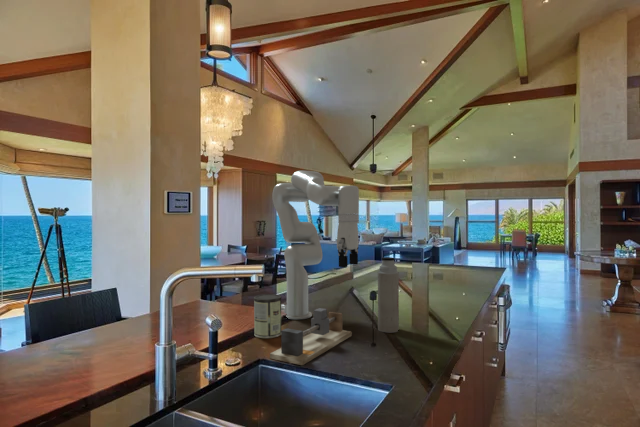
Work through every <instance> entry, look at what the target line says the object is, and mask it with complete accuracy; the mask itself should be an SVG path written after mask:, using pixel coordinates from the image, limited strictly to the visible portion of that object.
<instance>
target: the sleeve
mask: <svg viewBox="0 0 640 427" xmlns="http://www.w3.org/2000/svg"><path fill="white" fill-rule="evenodd" d="M327 314H328V313H327V308H321V307H319V308H315V309H314V310H313V317H312V318H310V328H312V327H314V326H316V325H318V324H320V328H318V329H316V330H314V331H312V332H310V333H313V334H319V335H325V334H327V333H329V317H328V315H327Z"/></svg>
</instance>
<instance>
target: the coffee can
mask: <svg viewBox="0 0 640 427" xmlns="http://www.w3.org/2000/svg"><path fill="white" fill-rule="evenodd" d="M282 298H283V297H282V295H280V294H275V293H269V294H268V293H267V294H264V293H263V294H258V295H255V296H254V297H253V301H254V302H253V303H254V304H253V308H254V309H253V313H254V314H253V317H254V318H253V319H254V328H253V330H254V336H255V337H256V338H260V339H274V338H277V337H280V336H281V331H282V310H281V305H282Z"/></svg>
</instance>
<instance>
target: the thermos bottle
mask: <svg viewBox="0 0 640 427" xmlns="http://www.w3.org/2000/svg"><path fill="white" fill-rule="evenodd" d="M399 277H400V274H399V272H398V267H397V266H396V265H395V258H394V257H387V256H386V257H385V256H384V257H381V265H379V271H378V272H377V330H378V331H379V332H381V333H390V334H391V333H397V332H399V331H398V330H400V329H399V328H400V327H399V326H400V325H399V324H400V323H399V321H400V320H399V319H400V318H399V317H400V316H399V314H400V313H399V311H400V310H399V307H400V305H399V304H400V303H399V302H400V300H399V299H400V298H399V297H400V296H399V293H400V292H399V289H400V287H399V284H400V282H399Z"/></svg>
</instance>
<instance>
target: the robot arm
mask: <svg viewBox="0 0 640 427" xmlns="http://www.w3.org/2000/svg"><path fill="white" fill-rule="evenodd" d="M359 195H360V189H359V186H357V185H341V186H337V185H336V186H335V185H325V179H324V176H323V174H322V173H320V172H318V171H314V170H313V171H312V170H301V169H300V170H297V171H295V172H294V173H293V174H292V175H291V177H290V182H281V183H278V184H276V185H274V187H273V190H272V195H271V196H272V197H271V198H272V204H273V206H274V208H275V211H276V213H277V215H278V216H277V217H278V219H279V224H280V228H281V232H282V237H283V239H284V241H285V242H287V243H289V244H291V245H288V246H287V247H286V248H285V250H284V253H283V254H284V261H285V268H286V304H281V311H284V313H286V314H287V315H286V317H287V318H288V319H287V318H286V319H287V320H297V321H298V320H306V319H309V318H310V319H311V317H312V312H311V311H309V274H308V272H307V270H306V269H305V267H304V266H315V265H319V264H320V263H321V262H322V260H323V249H322V245H321V240H320V237H319V234H318V233H319V232H318V230H317V228H316V226H315V224H313V223H312V222H310V221H300V219H299V216H298V212H297V211H296V209H295V207H294V206H293V205H292V204H291V203H305V202H306V203H307V202H308V201H310V202H312V203H314V204H316V205H319V206H323V207H325V206H326V207H327V206H329V207H331V206H333V207H338V212H337V213H338V218H337V219H338V220H337V221H338V226H337V231H336V232H337V234H336V235H337V236H336V249H337V254H338V255H337V256H338V267H339V268H348V265H349V264H350V265H358V264H359V244H360V241H359V227H358V224H359V223H360V221H359V220H360V219H359V218H360V209H359V208H360V204H359V203H360V196H359ZM348 252H350V253H349V258H348ZM348 259H349V261H348ZM348 262H349V264H348Z"/></svg>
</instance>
